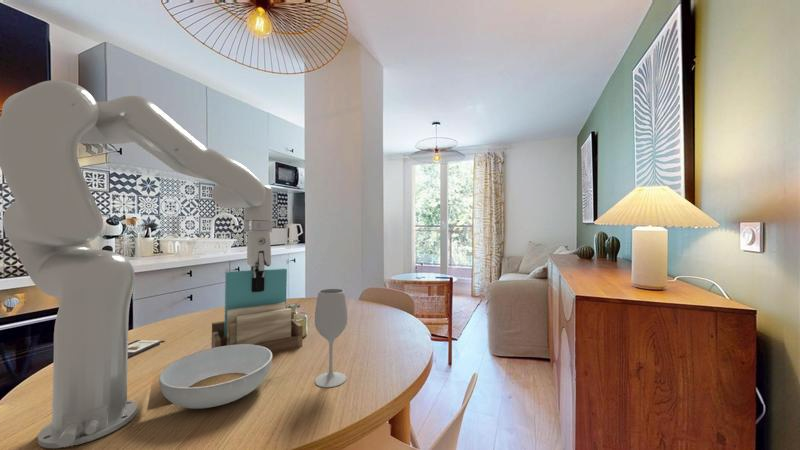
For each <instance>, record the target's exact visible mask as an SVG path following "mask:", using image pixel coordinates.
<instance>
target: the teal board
mask: <svg viewBox="0 0 800 450" xmlns="http://www.w3.org/2000/svg"><path fill="white" fill-rule="evenodd" d="M287 276H288V268H285V267H283V268H269V269H265V268H264V291H262V292H252V278H253V270H251V269H250V270H235V271H225V276H224V277H225V282H224V283H225V284H224V287H225V288H224V320H223V321H224V337H227V310H229V309H236V308H244V307H252V306H260V305H268V304H275V303H283V302H285V303H286V304H287V286H288V285H287V281H288V280H287V279H288V277H287Z"/></svg>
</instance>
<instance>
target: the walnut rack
mask: <svg viewBox="0 0 800 450" xmlns="http://www.w3.org/2000/svg"><path fill="white" fill-rule="evenodd" d="M252 345H258V346H262V347H265V348H267V349H269V350H270V351H271V352H272V354H273V353H277V352H282V351H286V350H290V349H296V348H300V347H303V324H302V323H301V322H299V321H298V320H297V319H296V318H295V312H294V311H293V310H291V337H288V338H283V339H278V340H273V341H268V342H262V343H257V344H252ZM221 346H227V337H224V320H223V321H216V322H212V323H211V348H215V347H221Z"/></svg>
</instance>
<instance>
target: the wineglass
mask: <svg viewBox="0 0 800 450" xmlns="http://www.w3.org/2000/svg"><path fill="white" fill-rule="evenodd" d="M347 325H348V306H347V299H346V294H345V289H341V288H325V289H321V290H318V294H317V298H316V302H315V311H314V326H315V329H316V331H317V332H318V333H319V335H320V336H322V338H324V339H325V340H327V342H328V345H329V349H328V350H329V353H328V354H329V355H328V357H329V361H328V365H329V366H328V367H329V368H328V369H329V370H328V372H324V373H322V374H319V375H317V376H316V378H315V379H314V384H315V385H316V386H317V387H320V388H324V389H325V388H326V389H327V388H328V389H330V388H336V387H339V386H341V385H343V384H344V383H345V382H346V379H347V376H346V374H344V373H342V372H339V371H333V346H334V341H335V340H336V339H337V338H338V337H340V336H341V334H342V333H343V332H344V330H345V329H346V327H347Z"/></svg>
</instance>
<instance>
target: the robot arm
mask: <svg viewBox="0 0 800 450" xmlns="http://www.w3.org/2000/svg"><path fill="white" fill-rule="evenodd" d="M128 143H134V144H136V145H138V146H139V147H141V148H142V149H144V150H145V151H146V152H148V153H149V154H151V155H152V156H154V157H155V158H156V159H158V160H159V161H161V162H162V163H163V164H165V166H167V167H169V168H171V170H173V171H175V172H176V173H180V174H182V175H184V176H189V177H193V178H196V179H201V180H206V181H210V182H212V183H215V185H214V186H213V188H212V190H211V197H212V200H213V201H214V203H215V204H217V205H218V206H220V207H221V208H225V209H241V208H243V209H244V210H243V211H244V212H243V233H247V240H246V241H247V243H246V244H247V245H246V246H247V247H246V260H247V261H246V263H247V265H248V266H250V270H253V278H252V292H262V291H264V270H265V267H271V265H272V254H271V253H272V249H271V248H272V247H271V246H272V245H271V233H273V212H274V211H273V204H274V203H273V200H274V191H273V188H272V187H271V186H270V185H267V184H263V183H262V182H261V180H260V179H259V178H258V177H257V176H255V175H254V174H253V172H252V171H250V170H249V169H248V168H247V167H246V166H244V165H243V164H241V163H239V162H238V161H237V160H235V159H233V158H230V157H229V156H226V155H224V154H223V153H220V152H218V151H216V150H215V149H213V148H210V147H208V146H205V145H204V144H202V143H201V142H200V141H199V140H198V139H196V138H195V137H194V136H193V135H191V133H189V132H188V131H187V130H185V129H184V128H183V127H182V126H181V125H179V124H178V123H177V122H176V121H175V120H174V119H172V117H171V116H169V115H168V114H167V113H166V112H164V111H163V110H162V109H161V108H160V107H159V106H158V105H156V104H155V103H154V102H152V101H151V100H149V99H147V98H145V97H142V96H139V95H127V96H120V97H117V98H114V99H110V100H107V101H96V98H94V96H93V95H92V94H91V93H90V92H89V91H88V90H87V89H86V88H84V87H82V86H81V85H80V84H79V85H78V84H76V83H74V82H71V81H68V80H62V79H61V80H59V79H58V80H55V79H53V80H52V79H51V80H45V81H41V82H38V83H36V84H34V85H31V86H28V87H27V88H25V89H23V90H21V91H18V92H16V93H14V94H12V95H10V96H9V97H8V98H7V99H5V101H4V102H3V104H2V107H1V114H0V171H1V173H2V174H3V177H4V179H5V181H6V184H7V185H8V188H9V190H10V192H11V194H12V197H13V199H14V200H15V201H12V202H11V203H10V204H9V205H8V207H7V208H5V210H4V213H3V216H2V225H3V226H2V227H3V231H4V233H5V236H6V238H7V239H8V242H9V243H10V245H11V246H12V248H13V250H14V252H15V253H16V255H17V257H18V260H19V261H20V262H21V264H22V266H23V268H24V270H25V272H26V273H27V275H28V276H29V278H30V279H31V281H32V283H33V284H34V285H35V287H36V288H37V289H39V290H40V291H41V292H42V293H44V294H45V295H48V296H51V297H54V298H57V299H60V302H59V307H58V311H57V313H56V318H55V323H54V328H53V329H54V331H53V365H52V366H53V367H52V368H53V369H52V371H53V373H52V374H53V375H52V408H51V409H52V411H51V412H52V415H51V417H52V418H51V421H50V422H49V423H47V425H45V426H44V427H43V428H41V430H40V431H39V433H38V434H37V445H39V446H40V447H42V448H45V449H62V448H61V447H64V448H70V447H75V446H78V445H82V444H84V443H88V442H92V441H94V440H97V439H100V438H102V437H104V436H107V435H109V434H111V433H114V432H115V431H118V429H121V428H122V427H124V426H126V424H128V423H129V422H130V421H132V420H133V419H134V417H135V416H136V414H137V413H138V403H137V402H136V401H133V400H130V399H128V367H129V365H128V364H129V362H128V361H129V359H128V344H129V320H130V319H129V318H130V317H129V316H130V307H131V305H130V304H131V300H132V295H133V291H134V287H135V282H136V275H135V268H134V266H133V265H132V263H131V262H130V261H129V260H128V259H127V258H126V257H125V256H123V255H122V254H120V253H118V252H114V251H111V250H105V249H96V248H95V249H93V247H92V245H91V242H92V241H94V240H95V239H97V238H98V237H99V236H100V235H101V233H102V231H103V229H104V220H103V215H102V213H101V210H100V209H99V206H98V204H97V202H96V201H95V198H94V195H93V194H92V192H91V190H90V187H89V185H88V183H87V181H86V179H85V176H84V174H83V171H82V168H81V165H80V163H79V162H80V161H79V159H78V158H79V157H78V147H79V144H89V145H90V144H92V145H93V144H95V145H117V144H121V145H122V144H123V145H124V144H128ZM74 445H75V446H74ZM69 446H70V447H69Z"/></svg>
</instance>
